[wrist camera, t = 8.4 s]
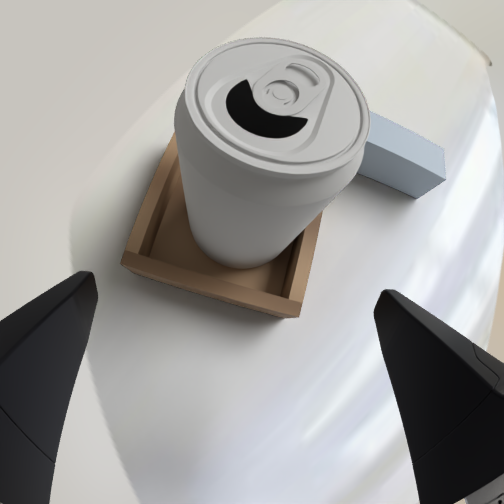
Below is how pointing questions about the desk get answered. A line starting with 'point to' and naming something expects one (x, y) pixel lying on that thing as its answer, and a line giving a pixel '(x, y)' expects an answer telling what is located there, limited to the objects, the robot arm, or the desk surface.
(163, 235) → the tray
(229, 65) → the beverage can
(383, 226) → the desk surface
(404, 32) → the desk surface
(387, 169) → the block
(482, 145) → the desk surface
